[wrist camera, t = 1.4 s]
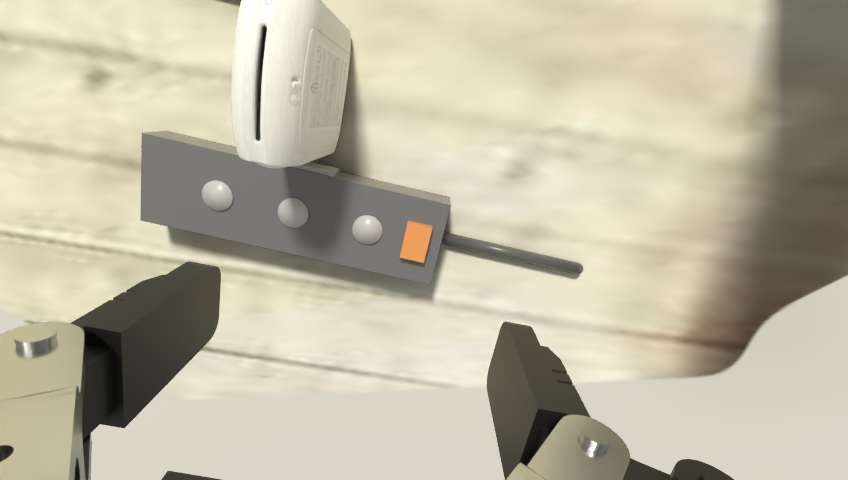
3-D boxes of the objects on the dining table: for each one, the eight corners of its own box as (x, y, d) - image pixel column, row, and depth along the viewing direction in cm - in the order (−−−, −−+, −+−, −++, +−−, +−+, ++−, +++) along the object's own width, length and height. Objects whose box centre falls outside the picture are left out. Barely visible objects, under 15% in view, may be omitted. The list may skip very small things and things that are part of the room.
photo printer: (301, 12, 30) (218, -50, 19) (357, 24, 31) (310, -30, 19) (288, 148, 34) (210, 169, 22) (339, 159, 34) (289, 184, 22)
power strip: (167, 127, 33) (136, 129, 30) (595, 228, 35) (613, 240, 32) (164, 211, 35) (135, 222, 32) (567, 301, 37) (581, 321, 34)
